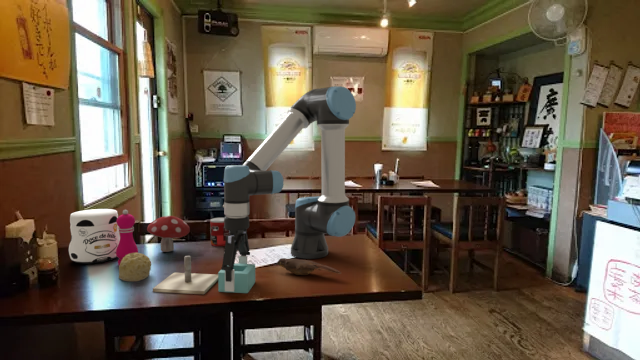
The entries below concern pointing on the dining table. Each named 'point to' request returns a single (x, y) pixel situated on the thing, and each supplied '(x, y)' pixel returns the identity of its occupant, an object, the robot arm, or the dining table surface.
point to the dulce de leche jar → (94, 236)
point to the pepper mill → (125, 236)
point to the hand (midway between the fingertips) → (236, 282)
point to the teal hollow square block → (239, 278)
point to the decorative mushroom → (168, 230)
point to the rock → (134, 267)
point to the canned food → (218, 232)
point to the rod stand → (187, 281)
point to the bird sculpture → (303, 266)
